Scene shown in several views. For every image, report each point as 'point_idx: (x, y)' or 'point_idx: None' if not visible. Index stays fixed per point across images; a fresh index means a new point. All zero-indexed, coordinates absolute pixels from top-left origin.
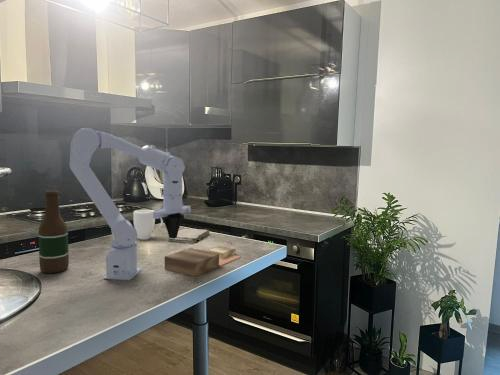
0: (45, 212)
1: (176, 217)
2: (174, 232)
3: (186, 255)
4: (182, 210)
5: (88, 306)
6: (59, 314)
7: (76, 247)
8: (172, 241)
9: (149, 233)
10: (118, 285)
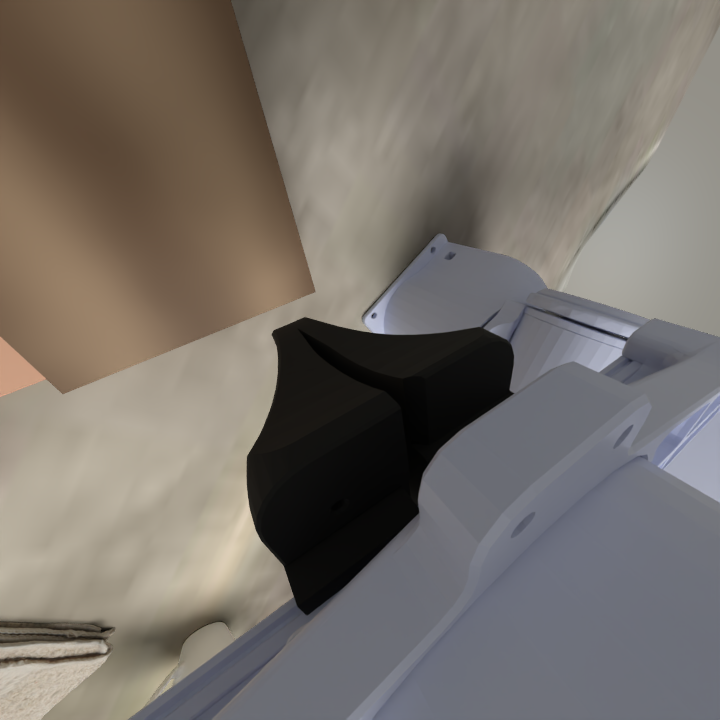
0: None
1: (438, 395)
2: (329, 326)
3: (179, 228)
4: (585, 440)
5: (590, 100)
6: (625, 110)
7: None
8: (90, 627)
9: (192, 658)
10: (479, 206)
